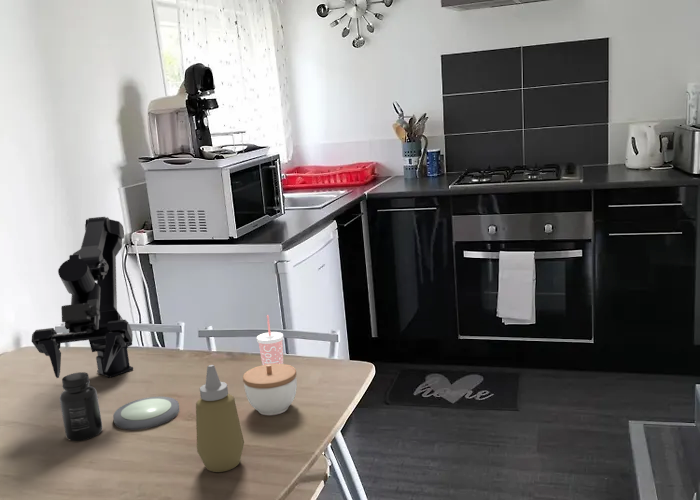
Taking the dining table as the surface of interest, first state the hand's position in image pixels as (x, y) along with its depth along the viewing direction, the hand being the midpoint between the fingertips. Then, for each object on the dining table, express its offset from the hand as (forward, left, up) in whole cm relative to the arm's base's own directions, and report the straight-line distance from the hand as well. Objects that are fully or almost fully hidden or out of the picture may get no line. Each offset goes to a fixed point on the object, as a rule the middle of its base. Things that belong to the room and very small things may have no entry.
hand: (81, 374), depth 136 cm
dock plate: (-9, +6, -11) cm, 16 cm away
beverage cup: (-39, +11, -11) cm, 42 cm away
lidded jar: (-26, +26, -11) cm, 39 cm away
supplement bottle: (+3, +3, -11) cm, 12 cm away
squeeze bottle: (-6, +36, -11) cm, 38 cm away
